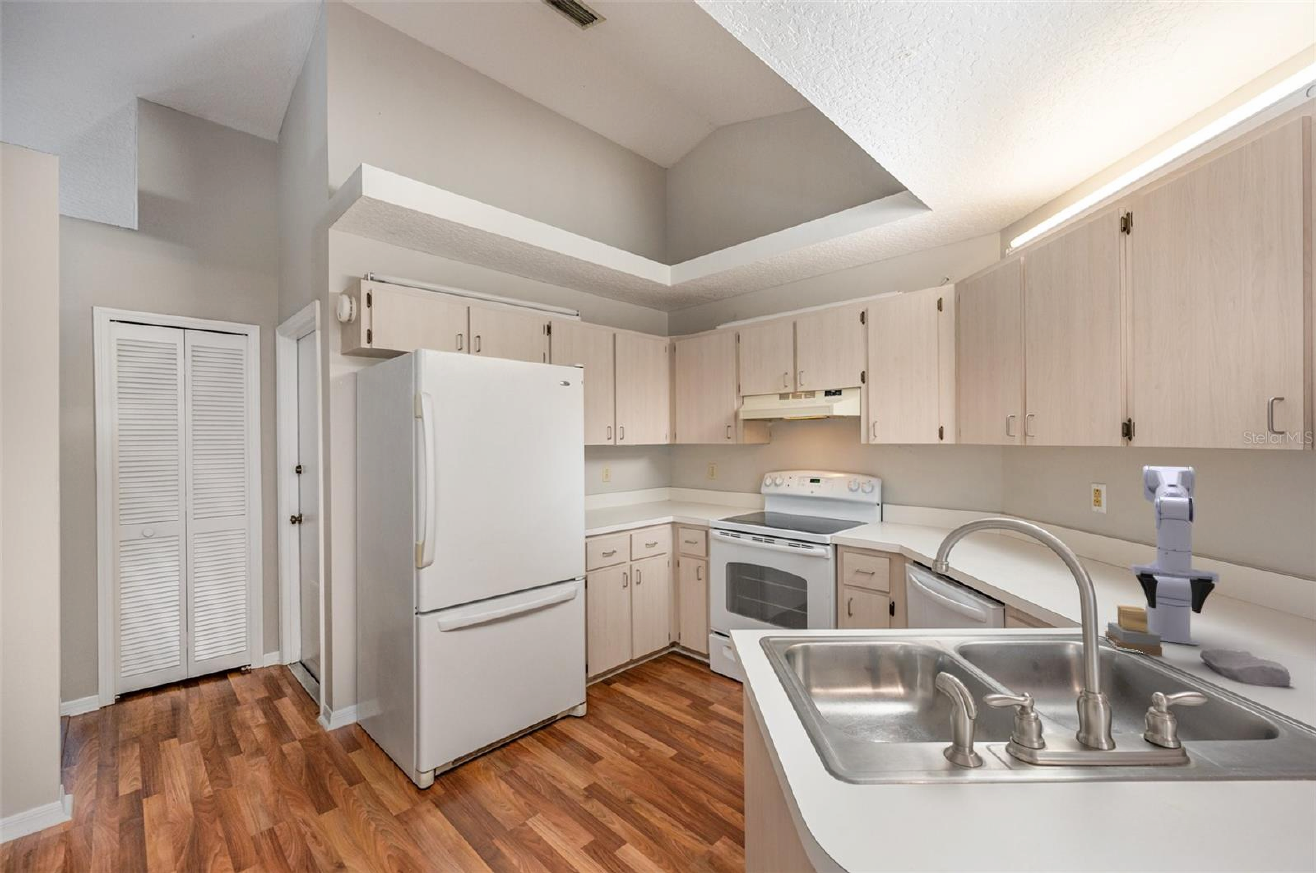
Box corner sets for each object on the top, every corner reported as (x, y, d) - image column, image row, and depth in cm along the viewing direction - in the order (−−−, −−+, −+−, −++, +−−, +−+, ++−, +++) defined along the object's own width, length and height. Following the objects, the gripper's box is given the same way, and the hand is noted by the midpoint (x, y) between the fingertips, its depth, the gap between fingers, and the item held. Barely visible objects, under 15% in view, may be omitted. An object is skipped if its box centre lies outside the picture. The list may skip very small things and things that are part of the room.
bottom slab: (1105, 641, 131) (1105, 631, 131) (1147, 646, 128) (1147, 636, 128) (1117, 652, 124) (1117, 641, 124) (1162, 658, 121) (1162, 647, 121)
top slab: (1108, 632, 130) (1108, 622, 130) (1143, 636, 128) (1143, 625, 128) (1123, 642, 124) (1123, 631, 124) (1160, 646, 122) (1160, 635, 122)
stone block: (1241, 694, 107) (1299, 688, 106) (1235, 669, 107) (1292, 663, 106) (1192, 671, 119) (1243, 665, 117) (1187, 649, 119) (1238, 643, 118)
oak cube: (1118, 623, 130) (1117, 604, 130) (1142, 626, 127) (1141, 607, 127) (1122, 629, 126) (1121, 609, 126) (1147, 632, 123) (1147, 612, 124)
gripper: (1140, 549, 121) (1139, 609, 121) (1226, 556, 115) (1226, 619, 115) (1128, 544, 127) (1127, 601, 127) (1209, 550, 121) (1209, 610, 121)
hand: (1173, 609), depth 121 cm, fingers open, 7 cm apart
